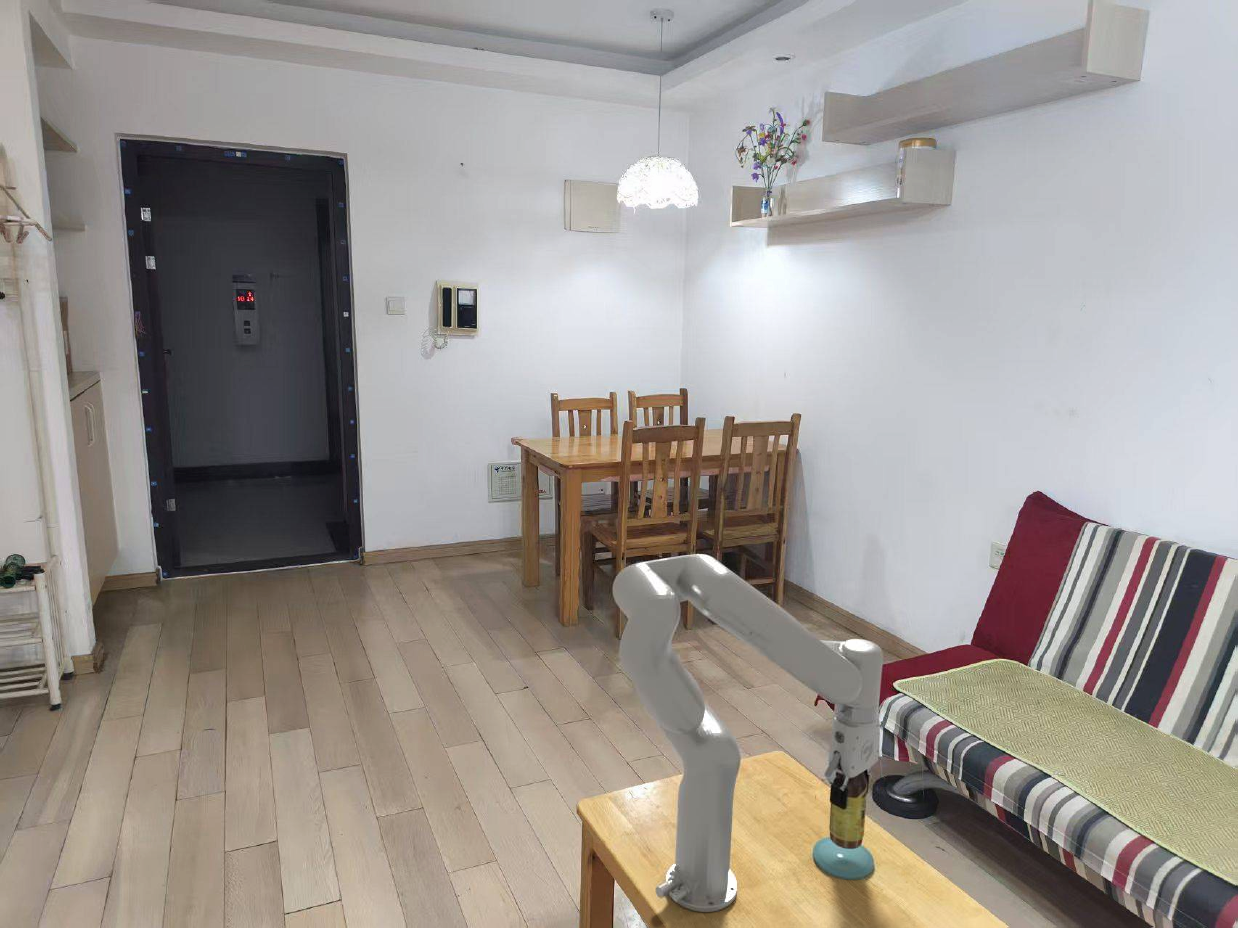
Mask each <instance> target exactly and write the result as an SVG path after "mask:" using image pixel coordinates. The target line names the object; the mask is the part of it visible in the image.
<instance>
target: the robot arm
mask: <svg viewBox="0 0 1238 928" xmlns="http://www.w3.org/2000/svg"><path fill="white" fill-rule="evenodd" d="M612 596H613V599H614V601H615V603H616V605H617V606H618V608H619V609H620V610H621V612H623V614H624V615H625V617H626V619H628V620H627V622H626V624H625V627H624V629H623V632H622V635H621V639H620V644H619V651H618V653H619V660H620V663H621V665H622V668H623V669H624V671H625V673H626V674H627V676H628V678H629V679H630V681H631V682H632V684H633V686H634V690H635V692H636V695H637V696H638V698H639V699H640V701H641V702H642V705H643V706H644V708H646V710H647V712H648V713H649V715H650V716H651V717H652V718H653V719H654V721H655V723H656V724H657V725H658V727H659V728H660V730H661V731H662V732H663V734H664V735H665V737H666V739H667V740H668V741H669V744H671V746H672V748H673V749H674V750H675V751H676V753H677V755H678V757H679V758H680V760H681V762H682V764H683V775H682V777H681V780H680V784H679V787H678V791H677V816H676V817H677V818H676V836H675V837H676V839H675V859H674V861H675V862H674V864H672V866H671V867H669V869H668V871H667V872H666V876H665V882H663V883H661V884H659V885H657V886H656V887H655V893H656V895H657V897H658V898H659V899H663V898H665V897H666V896H668V895H669V897H670V898H671V899H672V900H673V901H674V902H675V903H676V904H678V905H680V906H682V907H683V908H685V909H688V910H691V911H694V912H700V913H709V912H718V911H721V910H722V909H725V908H726V907H728V906H730V905H731V904H732V903H733V901H735V898H736V897H737V893H738V882H737V879H736V876H735V875H734V873H733V872H732V871H731V869H730V863H731V851H732V850H731V848H732V847H731V846H732V845H731V844H732V832H733V830H732V828H733V815H734V814H733V813H734V812H733V811H734V796H735V788H736V787H735V786H736V782H737V778H738V774H739V770H740V766H741V761H742V754H741V748H740V746H739V743H738V741H737V739H736V737H735V736H734V734H733V732H732V731H731V730H730V728H729V727H728V726H727V725H726V724H725V722H724V721H722V719H721V718H720V717H719V716H718V715H717V713H716V712H715V711H714V709H712V707H711V706H710V705H709V704H708V702H707V701H706V699H705V698H704V695H703V692H702V690H701V687H700V685H699V684H698V683H697V681H696V679H695V678H694V677H693V676H692V674H691V673H690V672H689V671H688V670H687V668H686V667H685V666H684V665H683V663H682V662H681V660H680V658H679V656H678V655H677V652H676V651H675V649H674V648H673V645H672V641H673V637H674V635H675V632H676V629H677V627H678V625H679V622H680V619H681V603H682V602H686V601H688V602H690V604H691V605H692V606H694V607H695V608H696V609H697V610H698V611H699V612H700V613H701V614H702V615H704V616H705V617H707V619H710V621H712V622H713V623H715V624H717V625H718V626H719V627H721V628H722V629H724V630H725V631H726V632H729V634H731V635H733V636H734V637H736V638H737V639H738V640H740V641H741V642H743V643H744V644H745V645H747V646H748V647H750V648H751V649H753V650H754V651H755V652H757V653H758V654H759V655H760V656H761V657H763V658H765V659H766V660H767V661H768V662H771V663H773V664H774V665H775V666H777V667H779V668H780V669H782V670H783V671H784V672H786V673H788V674H789V675H790V676H791V677H793V678H794V679H795V680H797V681H798V682H800V683H801V684H803V685H804V686H805V687H807V688H808V689H809V690H811V691H812V692H814V693H815V694H817V695H818V696H820V697H821V698H822V699H824V700H825V701H827V702H828V703H829V704H834V715H835V717H834V720H833V724H832V729H831V734H830V740H829V747H828V748H829V749H828V767H827V768H826V770H825V772H824V775H823V776H824V778H826V780H827V781H828V783H829V785H830V789H829V791H830V793H829V802H830V804H831V803H832V804H834V805H835V806H837V807H839V808H841V809H843V810H844V809H846V807H847V795H848V789H846V786H847V782H848V779H849V778H853V777H855V776H857V775H859V774H860V773H862V772H863V771H864V774H865V777H866V780H867V794H868V793H869V787H870V786H869V784H870V774H871V772H872V766H874V765H875V764H876V763H877V762H878V760H879V756H880V736H881V735H880V734H881V733H880V732H881V731H880V730H881V728H880V718H879V717H880V716H879V706H880V705H879V704H880V695H881V684H882V675H883V674H882V673H883V663H884V662H883V661H884V653H883V649H882V648H881V647H880V646H879V645H878V644H876V642H873V641H870V640H867V639H861V638H851V639H846V640H844V641H836V640H823V639H819V638H818V637H817V636H815V634H813V633H812V632H811V631H810V630H808V629H807V628H806V627H804V625H803V624H802V623H800V622H799V620H797V619H796V618H795V617H794V616H793V615H792V614H791V613H789V612H787V610H785V609H784V608H783V607H781V606H780V605H779V604H777V603H776V602H775V601H773V600H772V599H770V597H767V596H766V595H765V594H763V592H761V591H759V589H756V588H755V587H754V586H753V585H751V584H750V583H748V582H747V581H746V580H744V579H743V578H742V577H740V576H739V575H737V574H736V573H735V572H734V571H732V570H730V569H729V568H728V567H726V566H725V565H724V564H723V563H721V562H720V561H718V560H717V559H716V558H715V557H712V555H708V554H702V553H701V554H700V553H697V554H696V553H695V554H694V553H693V554H687V555H680V556H679V555H678V556H671V557H667V558H660V559H653V560H648V561H641V562H636V563H633V564H630V565H628V566H626V567H624V568H623V569H622V570H621V571H619V572H618V574H617V576H616V577H615V578H614V580H613V584H612ZM839 766H841V767H842V769H840V768H839ZM838 773H840V774H842V775H843V778H842V782H841V780H840V779H838V778H837V775H838Z"/></svg>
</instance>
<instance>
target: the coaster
mask: <svg viewBox="0 0 1238 928" xmlns="http://www.w3.org/2000/svg"><path fill="white" fill-rule="evenodd" d="M812 858H813V860H814V863H815V864H816V865H817V867H819V869H821V870H822V871H823V872H825V873H826V874H828V875H830V876H833V877H835V878H837V879H841V880H846V881H847V880H848V881H855V880H856V881H857V880H862V879H865V878H867V877H868V876H870V875H871V873H872V872H873V870H874V867H875V866H874V865H875V860H874V857H873V855H872V853H871V852H870V850H869V849H868V848H866V847H865V846H864V845H862V844H861V845H860V846H859V847H858V848H855V849H845V848H842V847H839V846H837V845H836V844H834V843H833V842H832V840H831V839H830V836H828V837H824V838H822V839H819V840H818V841H816V843H815V844H814V846H813V848H812Z"/></svg>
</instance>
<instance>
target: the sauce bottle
mask: <svg viewBox="0 0 1238 928" xmlns="http://www.w3.org/2000/svg"><path fill="white" fill-rule="evenodd" d="M839 768H840V769H842V767H841V766H839ZM837 778H838V779H840V780H841V782H842V778H843V775H842V774H840V773H838V775H837ZM846 789H848V795H847V807H846V809H844V810H843V809H841V808H839V807H837V806H835V805H834V804H832V803H830V807H829V808H830V811H829V826H828V827H829V828H828V829H829V837H830V839H831V840H832V842H833V843H834V844H836V845H837V846H839V847H842V848H845V849H855V848H858V847H859V846H860V845H862V843H863V841H864V840H863V838H864V836H865V826H866V825H865V824H866V823H865V822H866V813H867V811H866V807H867V794H868V793H867V780H866V777H865V774H864V771H863V772H862V773H860V774H859V775H857V776H855V777H853V778H849V779H848V782H847V786H846Z"/></svg>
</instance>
